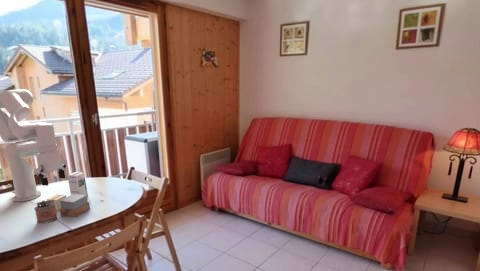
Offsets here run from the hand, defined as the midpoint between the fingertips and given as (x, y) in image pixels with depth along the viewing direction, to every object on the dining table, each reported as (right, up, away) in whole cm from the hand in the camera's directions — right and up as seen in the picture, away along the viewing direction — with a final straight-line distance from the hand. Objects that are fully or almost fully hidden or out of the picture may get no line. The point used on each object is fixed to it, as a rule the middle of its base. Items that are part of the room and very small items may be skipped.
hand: (54, 181), depth 141 cm
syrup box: (+5, -12, +14) cm, 19 cm away
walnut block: (+12, -15, -2) cm, 19 cm away
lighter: (+3, -17, -10) cm, 20 cm away
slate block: (+12, -11, -3) cm, 17 cm away
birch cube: (0, -14, +3) cm, 15 cm away
